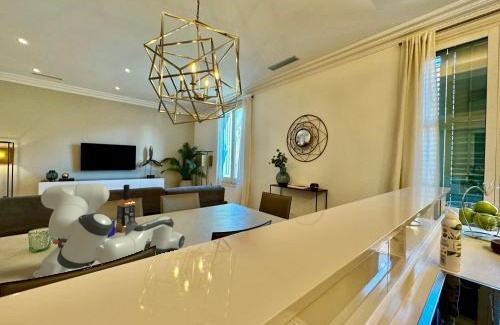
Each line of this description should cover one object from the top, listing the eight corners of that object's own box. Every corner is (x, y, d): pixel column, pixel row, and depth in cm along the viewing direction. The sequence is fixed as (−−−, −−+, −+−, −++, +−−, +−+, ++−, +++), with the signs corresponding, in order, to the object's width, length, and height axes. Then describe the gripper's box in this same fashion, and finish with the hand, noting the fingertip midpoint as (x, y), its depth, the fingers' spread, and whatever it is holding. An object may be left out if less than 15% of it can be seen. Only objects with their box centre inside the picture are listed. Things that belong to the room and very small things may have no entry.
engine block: (130, 240, 134) (130, 223, 134) (125, 239, 136) (125, 222, 136) (137, 238, 139) (137, 221, 139) (132, 236, 141) (132, 220, 141)
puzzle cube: (101, 240, 133) (102, 224, 133) (88, 238, 135) (88, 223, 135) (115, 234, 143) (115, 220, 143) (102, 233, 145) (102, 218, 145)
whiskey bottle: (136, 229, 155) (137, 184, 154) (122, 232, 147) (122, 186, 146) (129, 225, 161) (129, 183, 160) (115, 229, 153) (115, 184, 151)
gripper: (146, 248, 119) (128, 244, 124) (172, 236, 138) (156, 232, 143) (146, 237, 119) (129, 233, 124) (173, 226, 138) (156, 223, 143)
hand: (144, 233), depth 134 cm, fingers open, 8 cm apart
